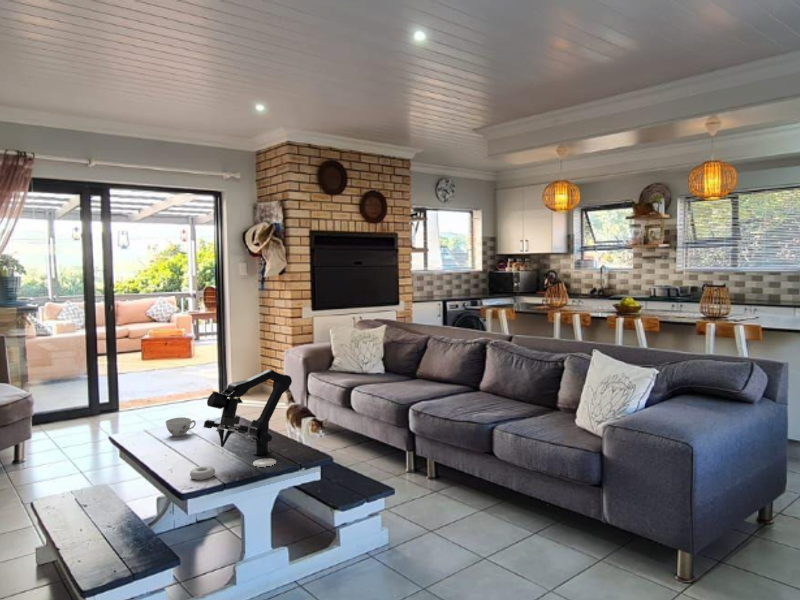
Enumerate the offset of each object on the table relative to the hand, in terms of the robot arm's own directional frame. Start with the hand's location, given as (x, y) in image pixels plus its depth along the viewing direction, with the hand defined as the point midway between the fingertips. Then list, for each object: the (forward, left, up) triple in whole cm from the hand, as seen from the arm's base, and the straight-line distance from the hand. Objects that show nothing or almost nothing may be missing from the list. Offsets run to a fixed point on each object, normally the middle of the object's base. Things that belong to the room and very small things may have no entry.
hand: (222, 446), depth 253 cm
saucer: (-6, +17, -9) cm, 20 cm away
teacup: (-45, -46, -9) cm, 65 cm away
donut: (+8, -5, -7) cm, 12 cm away
